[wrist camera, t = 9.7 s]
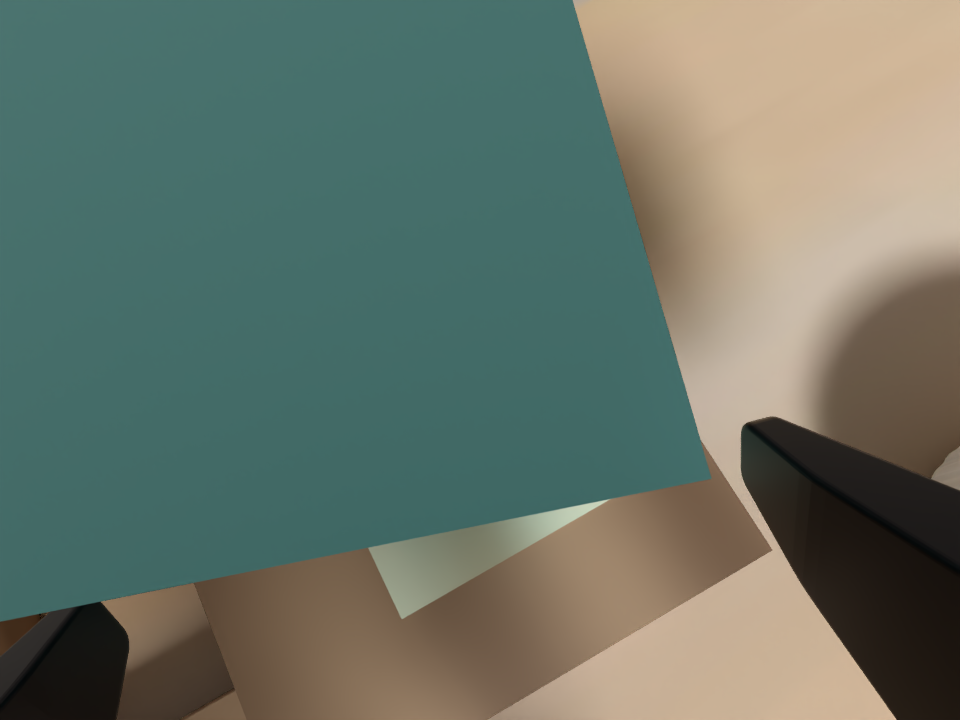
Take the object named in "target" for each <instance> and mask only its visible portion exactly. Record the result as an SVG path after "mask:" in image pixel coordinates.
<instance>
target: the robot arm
mask: <svg viewBox="0 0 960 720" xmlns="http://www.w3.org/2000/svg"><path fill="white" fill-rule="evenodd" d="M741 473H742V477H743V480H744V483H745V485H746V487H747V489H748V491H749V492H750V494H751V496H752V498H753V500H754V501H755V503H756V505H757V507H758V508H759V510H760V512H761V514H762V516H763V517H764V519H765V521H766V523H767V525H768V526H769V528H770V530H771V532H772V533H773V535H774V537H775V539H776V541H777V542H778V544H779V546H780V548H781V550H782V551H783V553H784V555H785V557H786V558H787V560H788V562H789V564H790V566H791V567H792V569H793V571H794V572H795V574H796V576H797V578H798V579H799V581H800V583H801V584H802V586H803V587H804V589H805V590H806V592H807V593H808V595H809V596H810V598H811V599H812V601H813V602H814V604H815V605H816V606H817V608H818V609H819V611H820V612H821V614H822V615H823V616H824V618H825V619H826V621H827V622H828V623H829V625H830V626H831V628H832V629H833V631H834V632H835V633H836V635H837V636H838V638H839V639H840V640H841V642H842V643H843V645H844V646H845V647H846V649H847V650H848V652H849V653H850V655H851V656H852V657H853V659H854V660H855V662H856V663H857V664H858V666H859V667H860V669H861V670H862V671H863V673H864V674H865V676H866V677H867V679H868V680H869V681H870V683H871V684H872V686H873V687H874V688H875V690H876V691H877V693H878V694H879V695H880V697H881V698H882V700H883V701H884V703H885V704H886V705H887V707H888V708H889V710H890V711H891V712H892V714H893V715H894V717H895V718H896V719H897V720H960V490H958V489H955V488H953V487H950V486H948V485H945V484H943V483H940V482H938V481H935V480H933V479H930V478H928V477H925V476H923V475H921V474H918V473H916V472H913V471H911V470H908V469H906V468H903V467H901V466H898V465H896V464H893V463H891V462H888V461H886V460H883V459H881V458H878V457H876V456H873V455H871V454H868V453H866V452H863V451H861V450H858V449H856V448H853V447H851V446H848V445H846V444H843V443H841V442H838V441H836V440H833V439H831V438H828V437H826V436H823V435H821V434H818V433H816V432H813V431H811V430H808V429H806V428H803V427H801V426H798V425H796V424H793V423H791V422H788V421H786V420H783V419H781V418H778V417H766V418H762V419H759V420H755V421H751V422H748V423H746V424H744V426H743V427H742V431H741ZM128 653H129V639H128V635H127V633H126V631H125V629H124V628H123V627H122V626H121V625H120V623H119V622H118V621H117V620H116V619H115V618H114V616H113V615H112V614H111V613H110V612H109V611H108V610H107V608H106V607H105V606H104V605H103V604H102V603H101V602H96V603H91V604H86V605H81V606H76V607H71V608H66V609H61V610H56V611H51V612H49V613H48V614H47V615H46V616H45V617H43V618H42V619H41V620H40V621H39V622H38V623H37V624H36V625H35V626H34V627H32V628H31V629H30V630H29V631H28V632H27V633H26V634H25V635H24V636H22V637H21V638H20V639H19V640H18V641H17V642H16V643H15V644H14V645H12V646H11V647H10V648H9V649H8V650H7V651H6V652H5V653H4V654H2V655H1V656H0V720H116V719H117V713H118V708H119V702H120V697H121V691H122V686H123V680H124V675H125V669H126V664H127V659H128Z"/></svg>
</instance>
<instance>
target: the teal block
mask: <svg viewBox="0 0 960 720" xmlns="http://www.w3.org/2000/svg"><path fill="white" fill-rule="evenodd" d="M708 479H712V478H711V475H710V471H709V468H708V464H707V461H706V458H705V454H704V451H703V447H702V444H701V440H700V437H699V433H698V430H697V427H696V423H695V420H694V416H693V413H692V409H691V406H690V403H689V399H688V396H687V392H686V389H685V385H684V382H683V379H682V375H681V372H680V368H679V365H678V361H677V358H676V354H675V351H674V348H673V344H672V341H671V337H670V334H669V330H668V327H667V324H666V320H665V317H664V313H663V310H662V306H661V303H660V300H659V296H658V293H657V289H656V286H655V282H654V279H653V275H652V272H651V269H650V265H649V262H648V258H647V255H646V251H645V248H644V245H643V241H642V238H641V234H640V231H639V227H638V224H637V221H636V217H635V214H634V210H633V207H632V203H631V200H630V196H629V193H628V190H627V186H626V183H625V179H624V176H623V172H622V169H621V166H620V162H619V159H618V155H617V152H616V148H615V145H614V142H613V138H612V135H611V131H610V128H609V124H608V121H607V117H606V114H605V111H604V107H603V104H602V100H601V97H600V93H599V90H598V87H597V83H596V80H595V76H594V73H593V69H592V66H591V62H590V59H589V56H588V52H587V49H586V45H585V42H584V38H583V35H582V32H581V28H580V25H579V21H578V18H577V14H576V11H575V8H574V4H573V1H572V0H0V622H1V621H6V620H11V619H16V618H21V617H26V616H31V615H36V614H41V613H46V612H51V611H56V610H61V609H66V608H71V607H76V606H81V605H86V604H91V603H96V602H101V601H106V600H111V599H116V598H120V597H125V596H130V595H135V594H140V593H145V592H150V591H155V590H160V589H165V588H170V587H175V586H180V585H185V584H190V583H195V582H200V581H205V580H210V579H215V578H220V577H225V576H230V575H235V574H240V573H245V572H250V571H255V570H260V569H265V568H270V567H275V566H280V565H285V564H290V563H295V562H300V561H305V560H310V559H315V558H320V557H325V556H330V555H335V554H340V553H345V552H350V551H354V550H359V549H364V548H369V547H374V546H379V545H384V544H389V543H394V542H399V541H404V540H409V539H414V538H419V537H424V536H429V535H434V534H439V533H444V532H449V531H454V530H459V529H464V528H469V527H474V526H479V525H484V524H489V523H494V522H499V521H504V520H509V519H514V518H519V517H524V516H529V515H534V514H539V513H544V512H549V511H554V510H559V509H564V508H569V507H574V506H579V505H584V504H589V503H594V502H598V501H603V500H608V499H613V498H618V497H623V496H628V495H633V494H638V493H643V492H648V491H653V490H658V489H663V488H668V487H673V486H678V485H683V484H688V483H693V482H698V481H703V480H708Z"/></svg>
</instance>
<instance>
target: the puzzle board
mask: <svg viewBox="0 0 960 720" xmlns="http://www.w3.org/2000/svg"><path fill="white" fill-rule="evenodd" d="M701 444H702V447H703V451H704V454H705V458H706V461H707V464H708V468H709V471H710V475H711V478H712V479H708V480H703V481H698V482H693V483H688V484H683V485H678V486H673V487H668V488H663V489H658V490H653V491H648V492H643V493H638V494H633V495H628V496H623V497H618V498H613V499H608V500H603V501H598V502H594V503H589V504H584V505H579V506H574V507H569V508H564V509H559V510H554V511H549V512H544V513H539V514H534V515H529V516H524V517H519V518H514V519H509V520H504V521H499V522H494V523H489V524H484V525H479V526H474V527H469V528H464V529H459V530H454V531H449V532H444V533H439V534H434V535H429V536H424V537H419V538H414V539H409V540H404V541H399V542H394V543H389V544H384V545H379V546H374V547H369V548H364V549H359V550H354V551H350V552H345V553H340V554H335V555H330V556H325V557H320V558H315V559H310V560H305V561H300V562H295V563H290V564H285V565H280V566H275V567H270V568H265V569H260V570H255V571H250V572H245V573H240V574H235V575H230V576H225V577H220V578H215V579H210V580H205V581H200V582H195V583H194V584H195V587H196V589H197V592H198V595H199V597H200V600H201V602H202V605H203V608H204V610H205V613H206V615H207V618H208V621H209V623H210V626H211V628H212V631H213V634H214V636H215V639H216V641H217V644H218V647H219V649H220V652H221V654H222V657H223V660H224V662H225V665H226V667H227V670H228V673H229V675H230V678H231V680H232V683H233V686H234V688H233V689H232V690H230V691H228V692H226V693H225V694H223V695H221V696H219V697H218V698H216V699H214V700H212V701H211V702H209V703H207V704H205V705H204V706H202V707H200V708H198V709H197V710H195V711H193V712H191V713H190V714H188V715H186V716H184V717H183V718H181V719H179V720H487V719H489V718H491V717H492V716H494V715H496V714H497V713H499V712H501V711H502V710H504V709H506V708H507V707H509V706H511V705H513V704H514V703H516V702H518V701H519V700H521V699H523V698H524V697H526V696H528V695H529V694H531V693H533V692H534V691H536V690H538V689H539V688H541V687H543V686H545V685H546V684H548V683H550V682H551V681H553V680H555V679H556V678H558V677H560V676H561V675H563V674H565V673H566V672H568V671H570V670H571V669H573V668H575V667H577V666H578V665H580V664H582V663H583V662H585V661H587V660H588V659H590V658H592V657H593V656H595V655H597V654H598V653H600V652H602V651H603V650H605V649H607V648H608V647H610V646H612V645H614V644H615V643H617V642H619V641H620V640H622V639H624V638H625V637H627V636H629V635H630V634H632V633H634V632H635V631H637V630H639V629H640V628H642V627H644V626H646V625H647V624H649V623H651V622H652V621H654V620H656V619H657V618H659V617H661V616H662V615H664V614H666V613H667V612H669V611H671V610H672V609H674V608H676V607H678V606H679V605H681V604H683V603H684V602H686V601H688V600H689V599H691V598H693V597H694V596H696V595H698V594H699V593H701V592H703V591H704V590H706V589H708V588H710V587H711V586H713V585H715V584H716V583H718V582H720V581H721V580H723V579H725V578H726V577H728V576H730V575H731V574H733V573H735V572H736V571H738V570H740V569H741V568H743V567H745V566H747V565H748V564H750V563H752V562H753V561H755V560H757V559H758V558H760V557H762V556H763V555H765V554H767V553H768V552H770V551H772V549H771V547H770V546H769V544H768V543H767V541H766V539H765V538H764V536H763V535H762V533H761V532H760V530H759V529H758V527H757V526H756V524H755V523H754V521H753V520H752V518H751V517H750V515H749V513H748V512H747V510H746V509H745V507H744V506H743V504H742V503H741V501H740V500H739V498H738V497H737V495H736V494H735V492H734V491H733V489H732V487H731V486H730V484H729V483H728V481H727V480H726V478H725V477H724V475H723V474H722V472H721V471H720V469H719V468H718V466H717V465H716V463H715V461H714V460H713V458H712V457H711V455H710V454H709V452H708V451H707V449H706V448H705V446H704V445H703V443H702V442H701ZM40 620H41V619H40V616H39V614H36V615H31V616H26V617H21V618H16V619H11V620H6V621H1V622H0V656H1V655H2V654H4V653H5V652H6V651H7V650H8V649H9V648H10V647H11V646H12V645H14V644H15V643H16V642H17V641H18V640H19V639H20V638H21V637H22V636H24V635H25V634H26V633H27V632H28V631H29V630H30V629H31V628H32V627H34V626H35V625H36V624H37V623H38V622H39V621H40Z"/></svg>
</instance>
